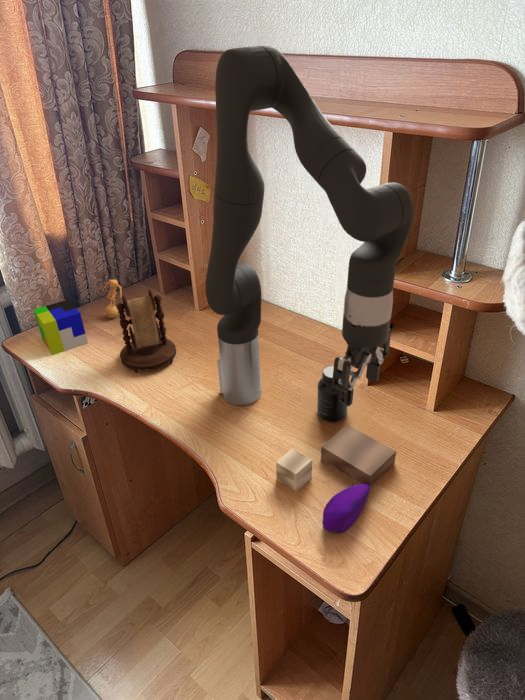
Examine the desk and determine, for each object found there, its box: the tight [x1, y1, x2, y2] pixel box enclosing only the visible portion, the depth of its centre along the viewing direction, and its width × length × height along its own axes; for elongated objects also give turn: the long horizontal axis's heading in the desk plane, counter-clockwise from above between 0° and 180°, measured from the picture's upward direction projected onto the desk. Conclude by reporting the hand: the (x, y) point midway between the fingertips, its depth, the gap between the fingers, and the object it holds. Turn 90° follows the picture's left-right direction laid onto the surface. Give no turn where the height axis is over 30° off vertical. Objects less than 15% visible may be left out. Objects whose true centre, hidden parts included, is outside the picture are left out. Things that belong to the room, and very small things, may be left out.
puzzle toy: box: [33, 298, 89, 356], centre depth 152 cm, size 10×10×10 cm
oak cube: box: [275, 447, 313, 493], centre depth 107 cm, size 5×5×5 cm
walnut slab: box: [320, 424, 397, 489], centre depth 110 cm, size 12×9×4 cm
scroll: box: [116, 288, 177, 374], centre depth 140 cm, size 15×15×20 cm
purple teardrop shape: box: [321, 483, 372, 533], centre depth 99 cm, size 5×5×15 cm
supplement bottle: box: [316, 365, 348, 423], centre depth 121 cm, size 7×7×12 cm
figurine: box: [102, 279, 123, 319], centre depth 162 cm, size 8×6×12 cm
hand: (359, 391), depth 95 cm, fingers open, 8 cm apart
